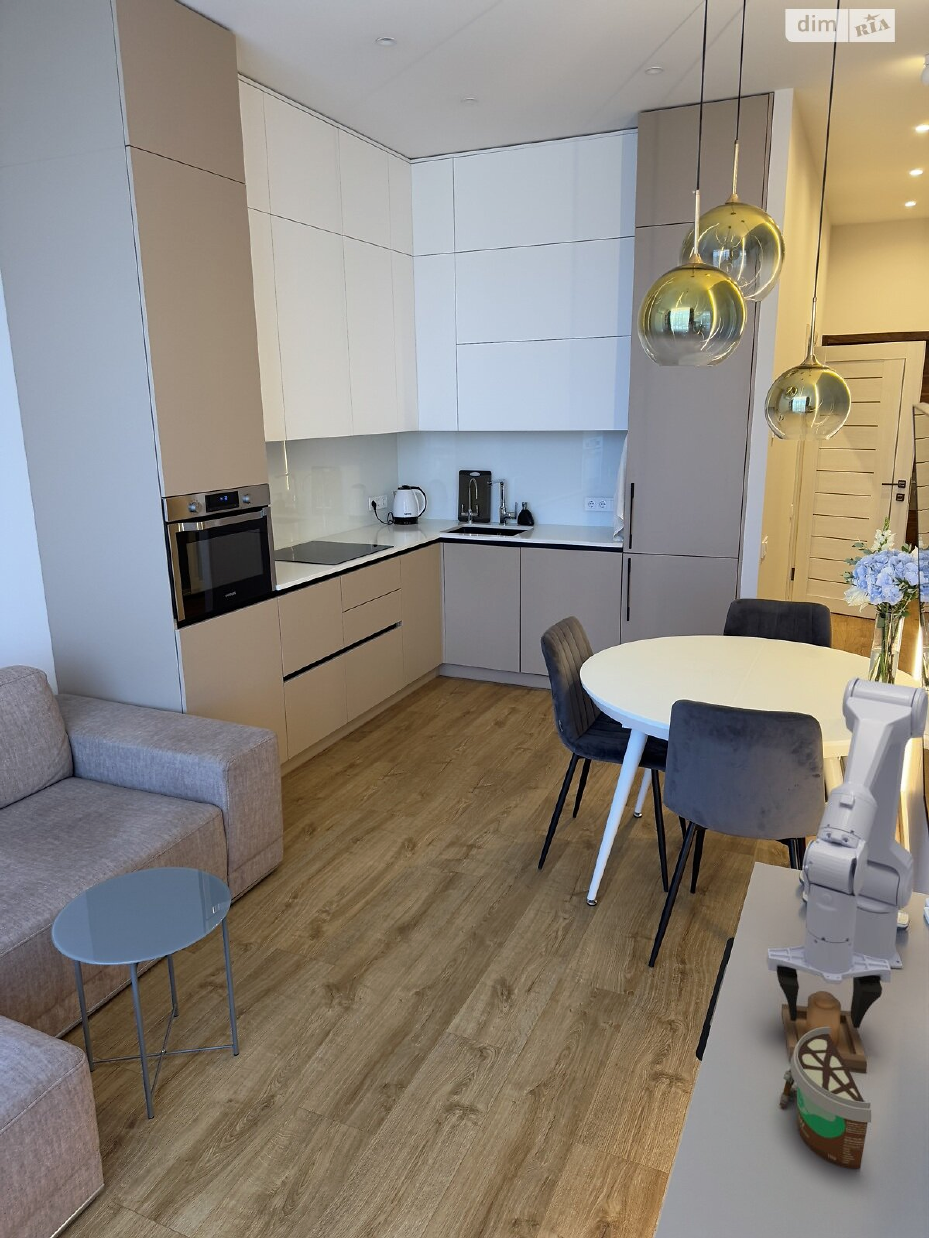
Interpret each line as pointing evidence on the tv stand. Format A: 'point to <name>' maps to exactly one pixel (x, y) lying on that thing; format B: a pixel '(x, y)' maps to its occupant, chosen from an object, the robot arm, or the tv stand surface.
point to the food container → (828, 1101)
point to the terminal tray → (847, 1042)
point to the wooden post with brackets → (788, 1089)
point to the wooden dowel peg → (824, 1013)
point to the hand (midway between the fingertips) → (823, 1018)
